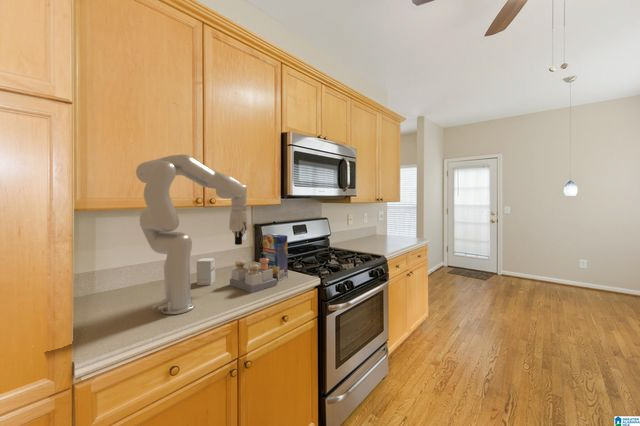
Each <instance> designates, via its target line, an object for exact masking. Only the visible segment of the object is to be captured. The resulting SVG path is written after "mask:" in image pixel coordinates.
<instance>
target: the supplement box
mask: <svg viewBox="0 0 640 426" xmlns="http://www.w3.org/2000/svg"><path fill="white" fill-rule="evenodd" d="M215 260H216V258H213V257H207V258H205V257H203V258H200V259H198V260H197V261H196V286H212V285H213V283H214V282H215V281H216V262H215Z"/></svg>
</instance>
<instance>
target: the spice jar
mask: <svg viewBox="0 0 640 426" xmlns="http://www.w3.org/2000/svg"><path fill="white" fill-rule="evenodd" d="M259 267H260V266H259V264H253V263H252V264H249V265H248V271H249V272H250V275H256V274H258V272H257V269H260V268H259Z"/></svg>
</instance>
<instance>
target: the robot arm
mask: <svg viewBox="0 0 640 426" xmlns="http://www.w3.org/2000/svg"><path fill="white" fill-rule="evenodd" d="M135 174H136V177H137V179H138V180H139V181H140V182H142V183H145V186H144V188H143V189H144V190H143V199H144V203H145V205H146V209H144V210H142V211H141V213H140V215H139V226H140V228H141V230H142V232H143V234H144V237H145V238H146V241H147V242H148V245H149V247H150V248H151V250H152V251H154V252H155V253H157V254H161V255H162V254H163V255H166V257H165V261H164V264H163V274H164V275H163V276H164V277H163V278H164V280H163V281H164V298H162V301H161V302H159V303H155V304H152V305H151V310H152V311H154V310H157V311H160V312H161V313H162V314H164V315H179V314H180V315H181V314H184V313H187V312H190V311H192V310H193V309H195V307H196V302H195V301H193V300H192V293H191V290H192V287H191V254H192V253H191V252H192V248H193V242H192V239H191V237H190V236H189V235H188V234H187V233H185V232H181V231H176V230H177V229H178V228H179V225H180V219H179V216H178V212H177V211H176V209H175V206H174V204H173V201H172V198H171V195H170V188H171V186H172V183H173V182H174V180H175V178H176V176H182V177H185V178H186V179H189V180H190V181H192V182H194V183H196V184H197V185H199V186H201V187H204V188H206V189H207V188H209V189H215V194H216V196H218V197H219V198H221V199H227V200H228V199H231V202H230V203H231V204H230V209H231V211H230V214H229V223H228V226H229V227H228V229H229V230H230V231H231V232H232V233H233V236H234V245H236V246H240V245H242V244H243V237H244V236H243V235H245V234H246V233H247V232H246V231H247V230H248V215H247V206H248V205H247V204H248V203H247V199H248V198H247V197H248V195H247V193H248V188H247V186H246V184H242V183H241V182H240V181H238V179H237V180H236V179H235V178H233V177H232V176H229V175H227V174H224V173H221V172H219V171H216V170H213V169H211V168H209V167H208V166H207V165H205V164H203V163H202V162H200V161H199V160H197V159H196V158H194V157H192V156H191V155H188V154H172V155H167V156H163V157H160V158H156V159H152V160H148V161H144V162H141V163H140V164H138V166H137V167H136V170H135Z"/></svg>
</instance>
